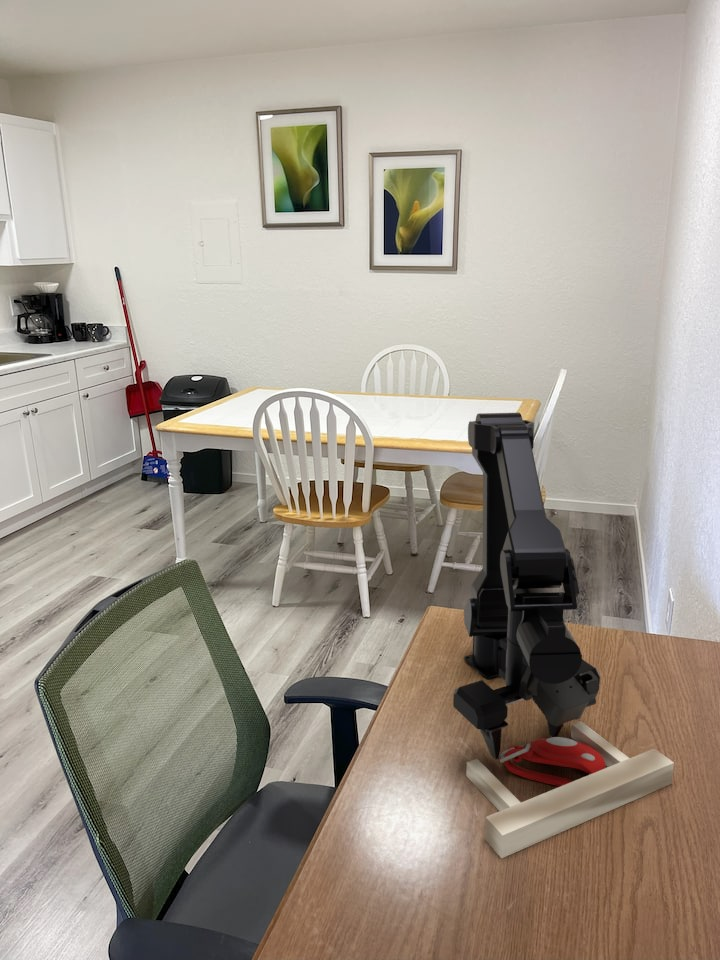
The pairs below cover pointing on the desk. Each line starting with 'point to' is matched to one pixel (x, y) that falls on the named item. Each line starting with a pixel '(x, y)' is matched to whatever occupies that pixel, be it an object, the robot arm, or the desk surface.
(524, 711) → the desk surface
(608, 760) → the frame
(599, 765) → the tracker holder
